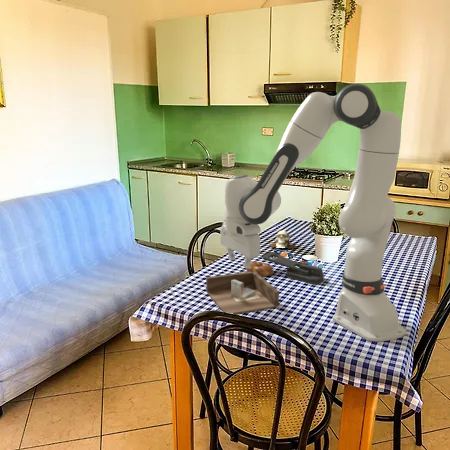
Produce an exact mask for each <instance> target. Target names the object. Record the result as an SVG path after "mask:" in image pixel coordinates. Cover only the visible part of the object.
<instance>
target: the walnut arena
mask: <svg viewBox="0 0 450 450" xmlns="http://www.w3.org/2000/svg"><path fill="white" fill-rule="evenodd" d="M246 287H247V288H249V289H252V290H254V291H256V294H254V295H252V296H249V297H247V298H245V299H242V300H238V299H236V298H234V297H231V288H230V289H223V290H216V291H209V292H207V290H206V289H205V290H206V292H205V293H207V295H208V296H209V297H210V298H211V300H212V301H214V303H215V304H216V306H217V307H218V308H219V309H220V310H221V312H222V311H223V312H228V313H233V315H237V314H243V313H249V312H255V311H262V310H263V311H264V310H268V309H274V308H279V305H277V306H274V305H273V304H272V303H271V302H270V301H269V300H268V299H266V298H265V297H264V296H263V295H262V294H261V293H260V292H259V291H258V290H257V289H256V288H255V287H253V286H252V285H250V286H244V288H246ZM223 312H222V313H223Z"/></svg>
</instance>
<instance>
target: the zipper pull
mask: <svg viewBox="0 0 450 450" xmlns="http://www.w3.org/2000/svg"><path fill="white" fill-rule="evenodd" d="M272 257H275V259H273V258H272ZM262 259H263V260H265V261H268V262H271V263H272V264H273V263H274V264H277V265H280V266H283V267H285V268H286V278H288V279H293V280H295V281H300V282H303V283H306V284H310V285H319V284H321V283H323V282H324V275H325V273H324V270H323V269H322V268H321V267H319V266H315V265H310V264H303V263H300V262H298V261H294V260H292V259H291V258H287V257H285V256H282V255H280V254H277V253H276V252H272V251H270V252H267V253H265V254H264V255H263V256H262Z"/></svg>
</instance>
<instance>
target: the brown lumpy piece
mask: <svg viewBox="0 0 450 450" xmlns="http://www.w3.org/2000/svg"><path fill="white" fill-rule="evenodd" d="M245 270H246V271H245V272H250V271H255V272H256V273H258V274H259V275H260V276H261V277H267V276H269V277H270V276H273V275H274V273H275V271H274V268H273V266H272V265H270V264H268V263H267V262H261V261H251V262H250V268H245Z"/></svg>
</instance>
